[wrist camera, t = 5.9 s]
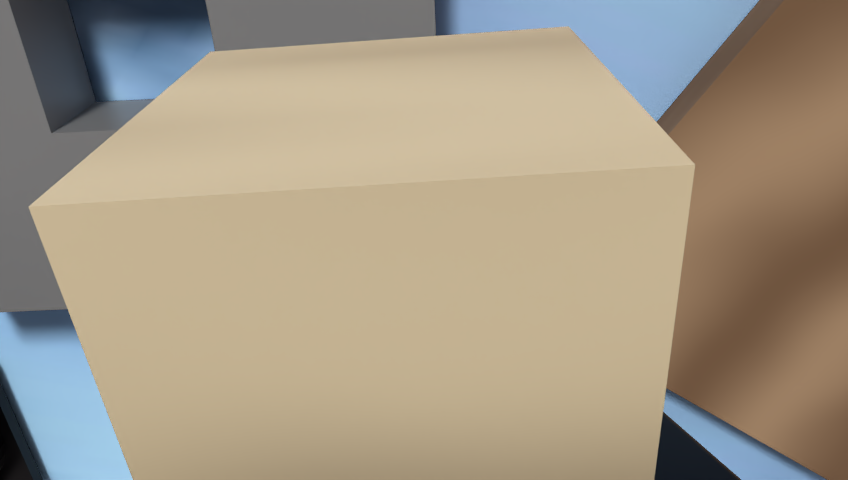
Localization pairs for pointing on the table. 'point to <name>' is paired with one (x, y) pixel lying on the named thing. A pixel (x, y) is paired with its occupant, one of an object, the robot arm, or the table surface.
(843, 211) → the walnut pad
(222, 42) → the keyhole plate
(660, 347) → the t key
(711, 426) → the table surface
